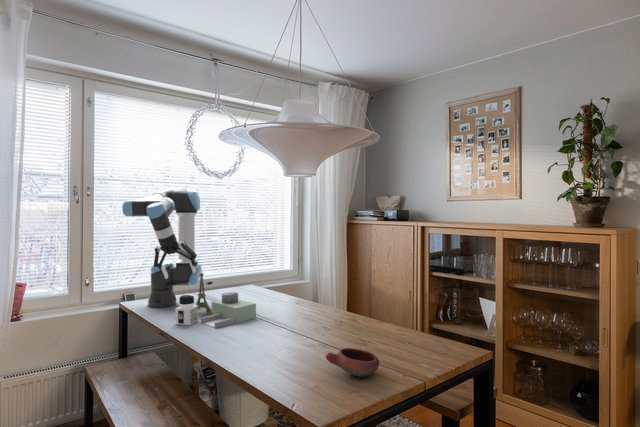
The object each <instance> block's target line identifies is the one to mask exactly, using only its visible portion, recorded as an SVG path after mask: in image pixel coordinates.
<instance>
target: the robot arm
mask: <svg viewBox="0 0 640 427" xmlns="http://www.w3.org/2000/svg"><path fill="white" fill-rule="evenodd" d="M121 207H122V208H121V209H122V214H123V215H124V216H125V217H132V218H134V217H148V218H149V221H150V223H151V225H152V229H153V230H154V234H155V235H156V238H157V240H158V241H157V242H158V243H159V246H155V247H154V259H153V260H154V261H153V265H152V266H151V267H150V295H149V297H148V301H147V306H148V307H151V308H166V307H172V306H175V305H176V304H177V303H178V302H177V297H176V294H175V291H174V287H176V286H177V287H178V286H196V285H197V284H198V283H199V282H200V273H201V264H199V261H198V260H197V257H198V256H197V255H198V254H197V253H196V252H195V250H196V248H195V247H196V246H195V244H196V242H195V238H196V237H195V235H196V234H195V232H196V230H195V216H197V214H198V211H199V210H200V209H201V199H200V196H199V192H198V191H197V190H195V189H191V188H190V189H189V188H188V189H187V188H186V189H182V188H181V189H165V190H161V191H158V192H157V191H156V192H154V193H152V194H151V195H150V196H147V197H143V198H140V199H136V200H135V199H134V200H132V199H130V200H125V201H124V202H123V204H122V206H121ZM173 211H175V215H177V217H178V220H177V221H178V240H177V236H176V235H175V233H174V230H173V226H172V224H171V222H170V218H169V217H170V215H171V214H172V213H173ZM161 251H162V252H163V253H162V254H163V255H162V256H161V259H160V261H159V258H160V252H161ZM171 254H172V255H173V254H178V259H177V261H175V264H174V262H173V261H169V262H168V261H166V262H164V261H165V258H166V257H167V255H171Z"/></svg>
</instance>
